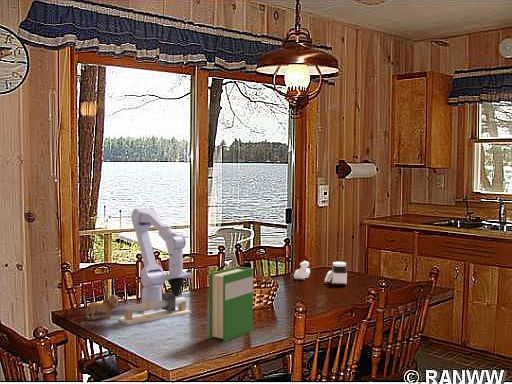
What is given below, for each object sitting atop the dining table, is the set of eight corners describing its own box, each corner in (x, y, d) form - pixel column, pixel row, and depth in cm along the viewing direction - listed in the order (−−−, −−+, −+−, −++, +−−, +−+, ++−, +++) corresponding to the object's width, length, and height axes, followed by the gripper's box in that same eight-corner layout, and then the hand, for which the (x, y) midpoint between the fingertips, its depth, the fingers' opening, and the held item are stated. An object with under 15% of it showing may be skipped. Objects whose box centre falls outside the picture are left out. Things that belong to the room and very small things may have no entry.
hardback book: (225, 341, 218) (225, 275, 217) (208, 338, 222) (208, 273, 221) (252, 330, 233) (253, 268, 231) (237, 327, 237) (237, 266, 235)
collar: (161, 308, 257) (161, 293, 256) (168, 307, 258) (168, 292, 258) (169, 311, 252) (169, 296, 252) (175, 310, 254) (175, 295, 253)
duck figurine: (296, 284, 329) (306, 269, 324) (287, 274, 333) (297, 259, 328) (309, 281, 338) (319, 267, 332) (301, 271, 342) (311, 257, 336)
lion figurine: (117, 314, 255) (116, 293, 255) (120, 317, 250) (120, 295, 250) (81, 318, 249) (81, 296, 248) (83, 321, 244) (83, 299, 243)
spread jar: (347, 286, 313) (348, 264, 313) (325, 286, 313) (326, 264, 313) (344, 282, 325) (345, 260, 325) (323, 282, 325) (323, 260, 325)
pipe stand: (119, 320, 246) (119, 304, 245) (181, 309, 264) (181, 294, 263) (128, 324, 240) (128, 308, 239) (190, 313, 257) (190, 298, 257)
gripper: (165, 267, 249) (165, 300, 249) (195, 263, 258) (195, 295, 258) (157, 264, 254) (157, 297, 255) (186, 261, 263) (186, 292, 264)
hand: (175, 296), depth 257 cm, fingers closed
